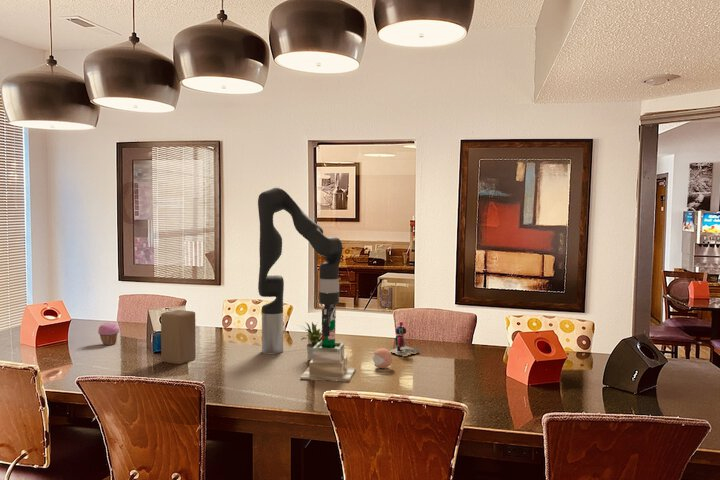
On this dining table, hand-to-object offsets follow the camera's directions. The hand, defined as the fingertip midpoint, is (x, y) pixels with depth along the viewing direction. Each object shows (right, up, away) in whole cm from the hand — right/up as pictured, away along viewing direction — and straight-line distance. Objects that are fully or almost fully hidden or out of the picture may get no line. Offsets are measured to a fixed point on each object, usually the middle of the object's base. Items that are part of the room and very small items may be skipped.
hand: (328, 333), depth 209 cm
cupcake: (-103, -13, +46) cm, 113 cm away
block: (-62, -14, +19) cm, 67 cm away
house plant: (-8, -15, +22) cm, 28 cm away
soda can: (0, -6, +1) cm, 6 cm away
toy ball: (+20, -16, +10) cm, 27 cm away
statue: (+31, -15, +34) cm, 48 cm away
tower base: (0, -16, +1) cm, 16 cm away
